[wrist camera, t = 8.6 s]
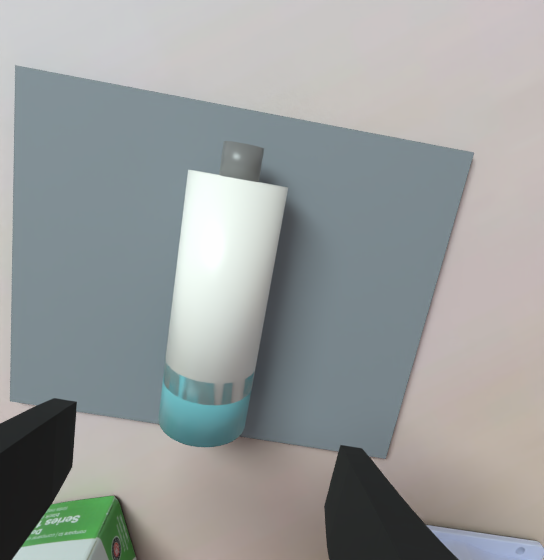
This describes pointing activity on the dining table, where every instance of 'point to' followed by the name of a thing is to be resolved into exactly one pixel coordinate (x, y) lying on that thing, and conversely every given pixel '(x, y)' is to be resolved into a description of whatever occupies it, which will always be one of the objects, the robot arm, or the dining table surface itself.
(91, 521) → the ink box
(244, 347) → the bottle
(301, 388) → the mat
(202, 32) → the dining table surface
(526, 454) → the dining table surface
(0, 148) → the dining table surface
